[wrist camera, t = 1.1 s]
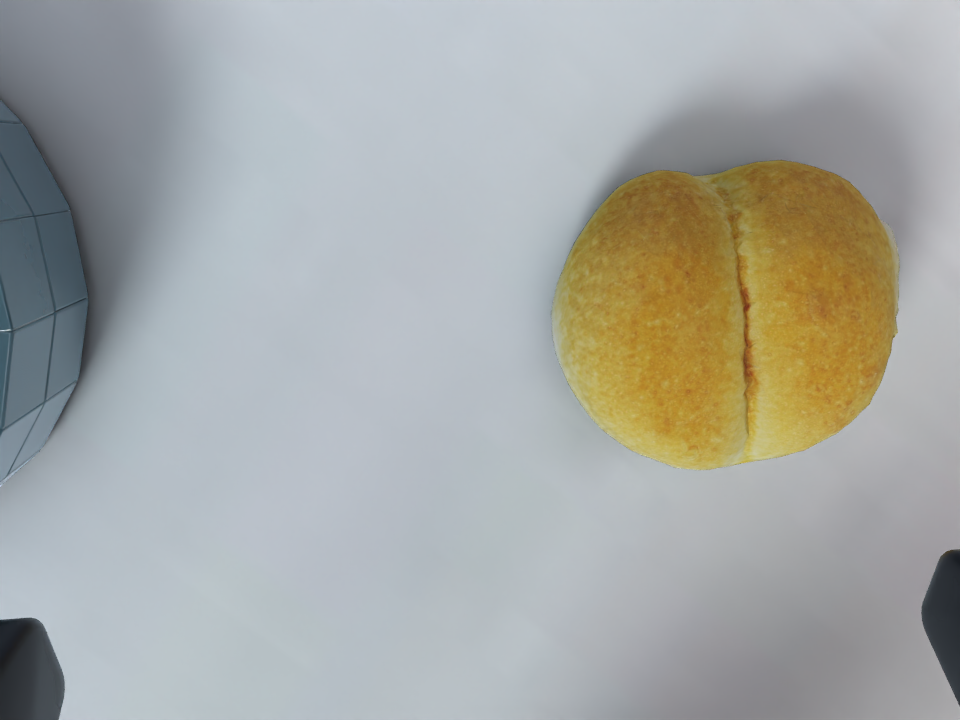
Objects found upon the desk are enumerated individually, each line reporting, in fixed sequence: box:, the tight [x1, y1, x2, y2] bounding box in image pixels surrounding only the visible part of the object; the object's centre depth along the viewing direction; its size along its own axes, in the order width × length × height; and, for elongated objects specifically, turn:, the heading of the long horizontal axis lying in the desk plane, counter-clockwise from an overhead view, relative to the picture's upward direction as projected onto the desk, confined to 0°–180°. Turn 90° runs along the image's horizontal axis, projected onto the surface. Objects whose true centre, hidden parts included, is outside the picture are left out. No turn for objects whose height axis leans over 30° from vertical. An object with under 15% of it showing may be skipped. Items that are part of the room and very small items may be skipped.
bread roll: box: [551, 160, 900, 470], centre depth 20 cm, size 8×9×4 cm
